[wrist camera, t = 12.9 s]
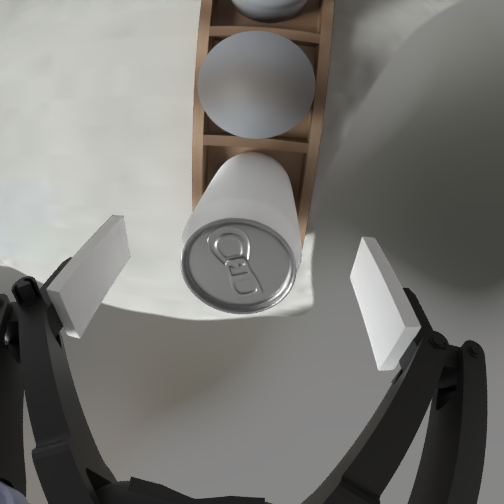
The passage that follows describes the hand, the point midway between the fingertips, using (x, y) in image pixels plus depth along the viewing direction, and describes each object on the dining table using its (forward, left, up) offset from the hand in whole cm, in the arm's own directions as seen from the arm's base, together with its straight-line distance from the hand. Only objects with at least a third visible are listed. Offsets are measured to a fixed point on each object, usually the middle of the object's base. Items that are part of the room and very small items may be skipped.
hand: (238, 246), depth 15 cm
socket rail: (-8, 0, -11) cm, 14 cm away
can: (0, 0, -10) cm, 10 cm away
